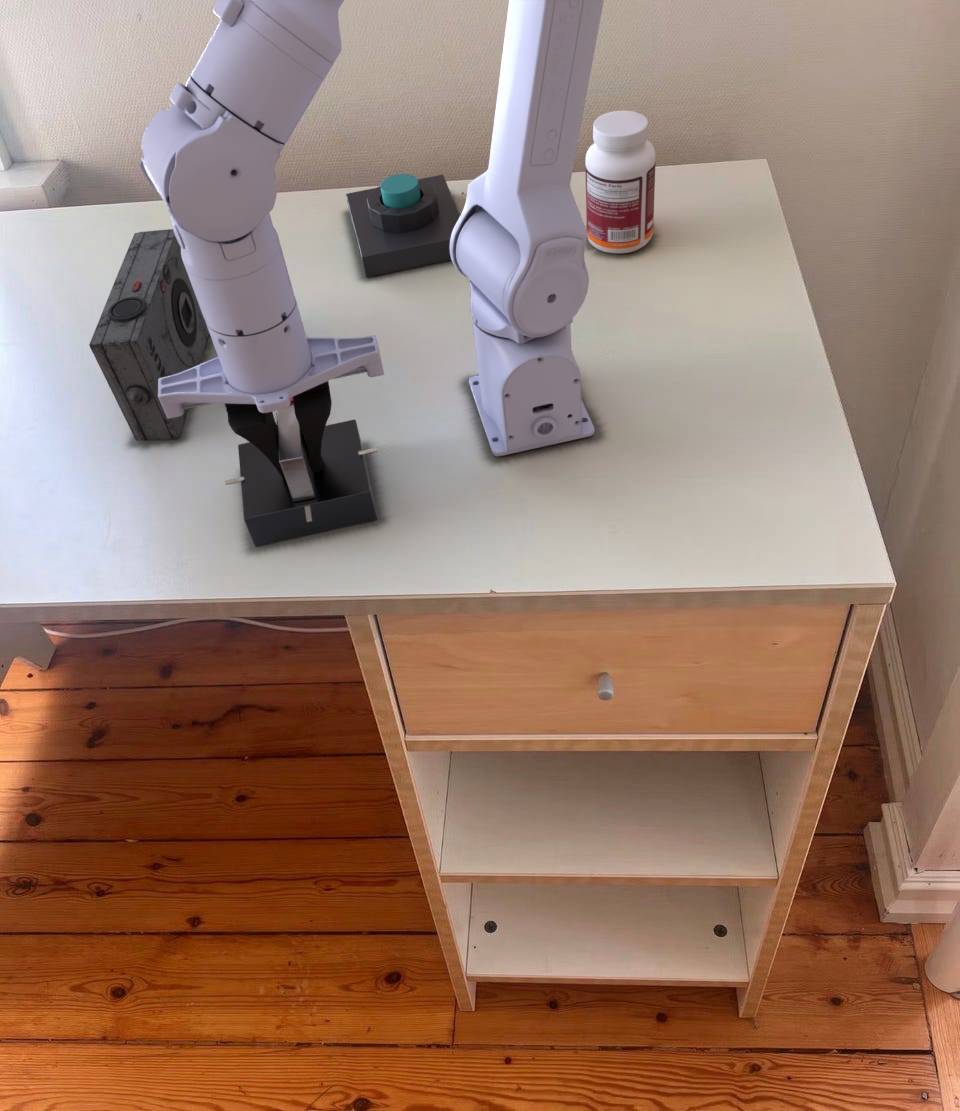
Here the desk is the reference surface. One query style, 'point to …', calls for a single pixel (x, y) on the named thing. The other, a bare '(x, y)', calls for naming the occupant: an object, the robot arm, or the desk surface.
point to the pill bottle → (620, 183)
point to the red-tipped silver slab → (294, 455)
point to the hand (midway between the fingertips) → (300, 466)
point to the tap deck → (336, 490)
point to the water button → (400, 191)
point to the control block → (403, 228)
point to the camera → (149, 332)
